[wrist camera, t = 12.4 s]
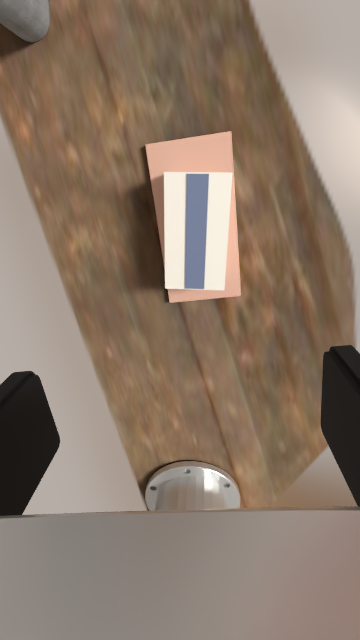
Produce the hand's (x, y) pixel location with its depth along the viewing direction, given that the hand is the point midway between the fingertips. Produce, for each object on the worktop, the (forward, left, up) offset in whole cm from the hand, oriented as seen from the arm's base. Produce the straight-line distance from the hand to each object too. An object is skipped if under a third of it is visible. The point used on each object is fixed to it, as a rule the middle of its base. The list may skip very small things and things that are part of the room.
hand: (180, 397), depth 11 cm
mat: (+2, 0, -22) cm, 22 cm away
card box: (+2, 0, -22) cm, 22 cm away
